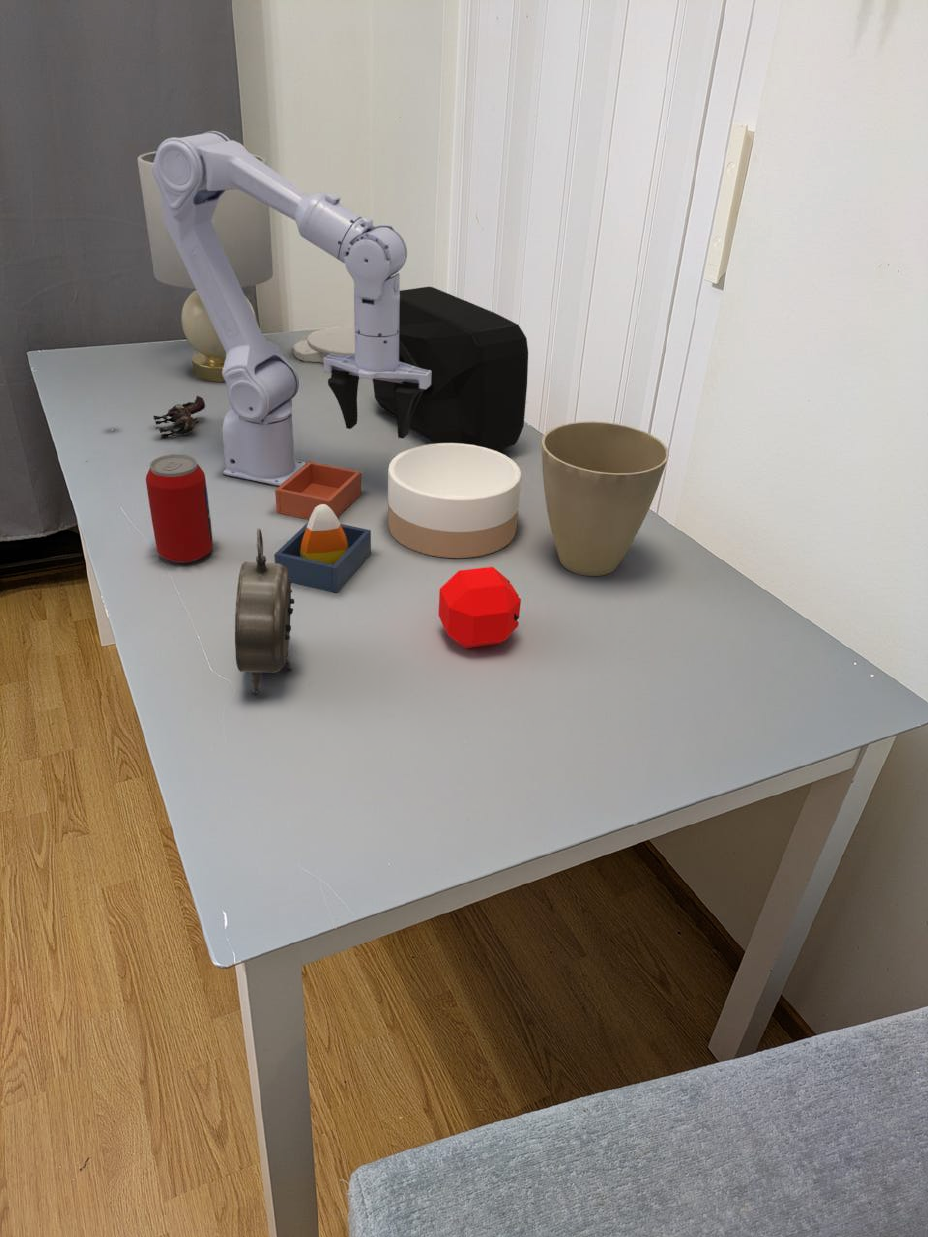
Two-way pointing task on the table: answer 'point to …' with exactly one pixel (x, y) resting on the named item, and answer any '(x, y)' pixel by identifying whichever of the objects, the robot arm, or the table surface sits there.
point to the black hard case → (461, 370)
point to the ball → (479, 607)
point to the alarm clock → (262, 616)
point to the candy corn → (323, 537)
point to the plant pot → (598, 490)
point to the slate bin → (322, 572)
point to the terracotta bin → (318, 490)
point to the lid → (326, 344)
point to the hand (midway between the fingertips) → (377, 430)
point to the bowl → (453, 499)
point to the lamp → (243, 242)
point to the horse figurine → (181, 417)
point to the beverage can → (179, 508)
